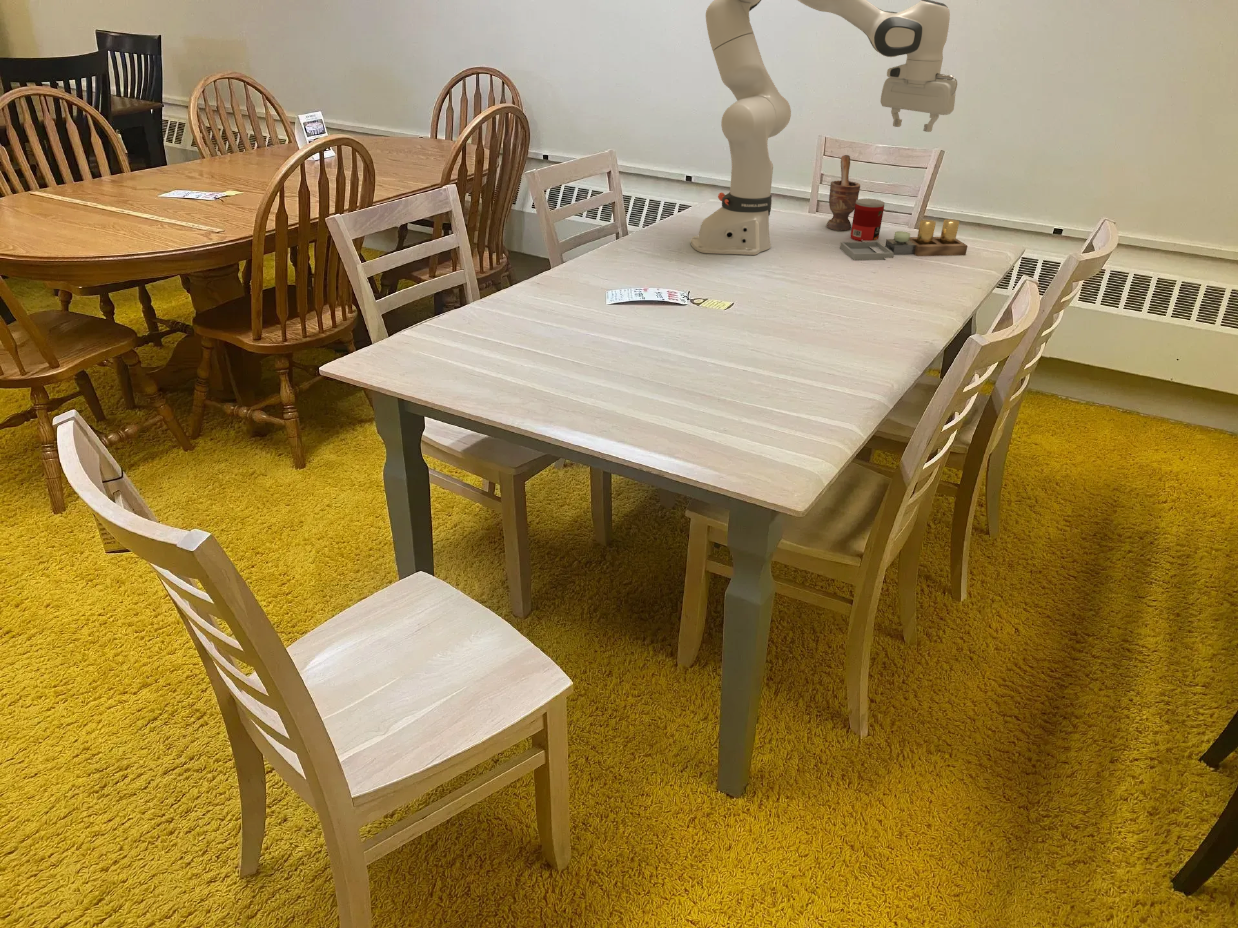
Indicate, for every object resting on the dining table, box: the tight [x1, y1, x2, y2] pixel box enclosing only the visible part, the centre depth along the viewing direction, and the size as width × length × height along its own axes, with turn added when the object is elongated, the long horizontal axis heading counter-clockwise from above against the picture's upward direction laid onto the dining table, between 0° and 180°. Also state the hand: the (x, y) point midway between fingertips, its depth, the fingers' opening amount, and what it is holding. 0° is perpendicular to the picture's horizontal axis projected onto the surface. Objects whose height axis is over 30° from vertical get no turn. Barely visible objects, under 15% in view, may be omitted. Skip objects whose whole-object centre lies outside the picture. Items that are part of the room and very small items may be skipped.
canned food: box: [850, 198, 885, 242], centre depth 239 cm, size 8×8×11 cm
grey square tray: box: [839, 240, 895, 261], centre depth 228 cm, size 11×11×2 cm
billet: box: [916, 219, 937, 245], centre depth 228 cm, size 4×4×8 cm
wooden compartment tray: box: [909, 236, 968, 257], centre depth 230 cm, size 14×9×4 cm, turn 96°
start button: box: [893, 230, 911, 244], centre depth 228 cm, size 4×4×5 cm
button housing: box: [884, 238, 916, 256], centre depth 229 cm, size 6×6×4 cm
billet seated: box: [939, 218, 960, 244], centre depth 228 cm, size 4×4×8 cm
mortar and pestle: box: [826, 154, 861, 232], centre depth 249 cm, size 12×9×20 cm
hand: (911, 129), depth 222 cm, fingers open, 8 cm apart
